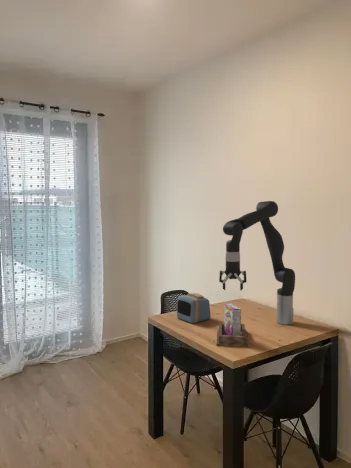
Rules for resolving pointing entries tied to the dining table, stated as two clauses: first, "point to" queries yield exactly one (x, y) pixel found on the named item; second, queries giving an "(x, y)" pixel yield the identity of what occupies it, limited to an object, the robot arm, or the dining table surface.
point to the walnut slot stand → (231, 337)
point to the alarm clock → (193, 308)
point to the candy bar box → (232, 320)
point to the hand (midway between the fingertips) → (232, 290)
